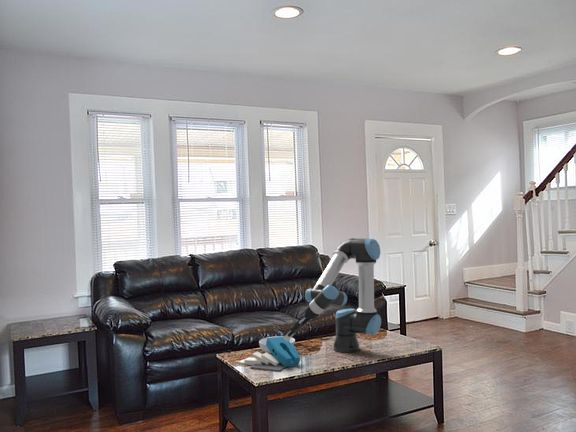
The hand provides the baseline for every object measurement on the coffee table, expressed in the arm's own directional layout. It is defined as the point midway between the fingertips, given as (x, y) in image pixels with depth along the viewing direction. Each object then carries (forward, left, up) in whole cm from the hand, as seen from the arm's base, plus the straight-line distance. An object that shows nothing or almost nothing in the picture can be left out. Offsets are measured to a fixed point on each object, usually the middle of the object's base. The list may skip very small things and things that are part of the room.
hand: (285, 339), depth 268 cm
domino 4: (+4, 0, -13) cm, 14 cm away
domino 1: (+17, 0, -15) cm, 23 cm away
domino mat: (+9, 0, -15) cm, 17 cm away
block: (-3, -1, -12) cm, 13 cm away
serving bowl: (+16, -24, -15) cm, 33 cm away
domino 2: (+14, 0, -13) cm, 19 cm away
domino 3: (+9, 0, -13) cm, 16 cm away
